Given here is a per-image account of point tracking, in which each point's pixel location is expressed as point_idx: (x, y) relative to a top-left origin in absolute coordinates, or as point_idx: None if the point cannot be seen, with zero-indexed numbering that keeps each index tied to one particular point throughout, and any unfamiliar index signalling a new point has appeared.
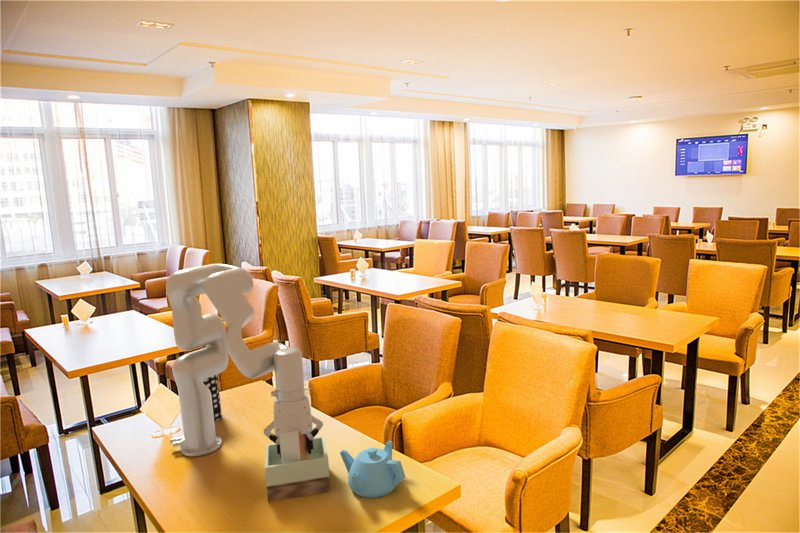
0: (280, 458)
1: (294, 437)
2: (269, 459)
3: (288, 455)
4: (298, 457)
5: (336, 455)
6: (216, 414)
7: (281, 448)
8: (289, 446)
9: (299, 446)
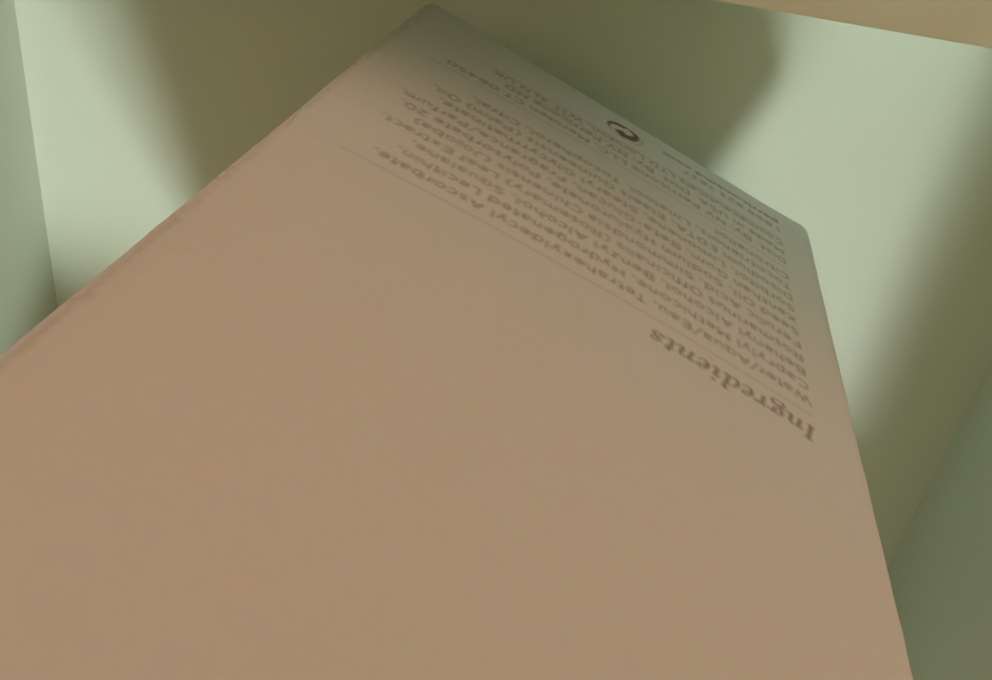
0: None
1: (81, 667)
2: (904, 626)
3: (650, 283)
4: (383, 102)
5: None
6: None
7: (854, 544)
8: (562, 437)
9: (152, 236)
